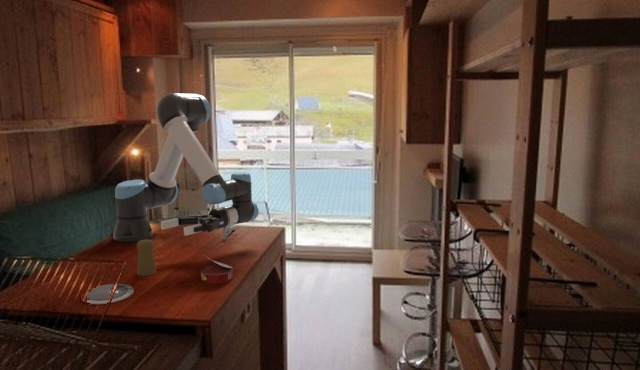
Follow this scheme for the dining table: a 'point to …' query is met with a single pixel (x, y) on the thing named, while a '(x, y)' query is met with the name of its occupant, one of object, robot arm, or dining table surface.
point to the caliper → (227, 231)
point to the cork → (146, 258)
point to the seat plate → (104, 291)
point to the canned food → (216, 273)
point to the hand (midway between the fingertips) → (172, 228)
